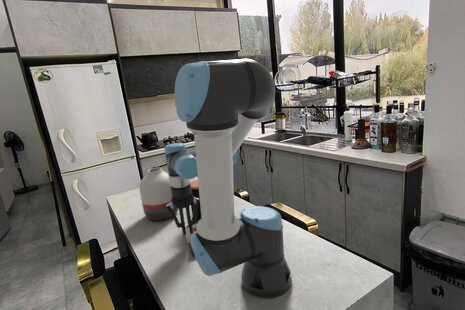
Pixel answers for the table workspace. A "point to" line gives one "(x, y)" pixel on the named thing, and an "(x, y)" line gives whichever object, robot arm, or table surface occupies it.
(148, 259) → the table surface
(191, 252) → the grey long bar
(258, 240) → the robot arm
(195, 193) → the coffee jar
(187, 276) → the table surface
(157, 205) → the vase
